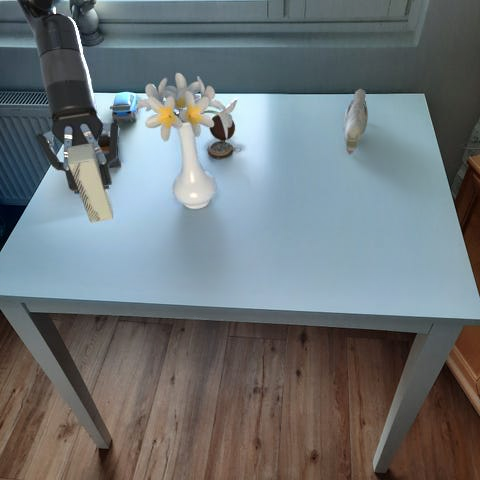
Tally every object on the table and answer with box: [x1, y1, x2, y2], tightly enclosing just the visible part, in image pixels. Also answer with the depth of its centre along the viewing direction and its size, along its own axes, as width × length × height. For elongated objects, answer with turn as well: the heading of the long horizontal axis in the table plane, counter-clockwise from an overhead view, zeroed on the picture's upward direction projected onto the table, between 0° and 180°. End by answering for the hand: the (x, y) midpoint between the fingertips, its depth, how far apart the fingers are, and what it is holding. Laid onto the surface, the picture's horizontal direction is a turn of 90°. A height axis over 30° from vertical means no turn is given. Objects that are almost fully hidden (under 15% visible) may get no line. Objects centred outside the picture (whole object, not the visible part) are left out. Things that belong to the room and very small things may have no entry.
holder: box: [98, 132, 122, 170], centre depth 110 cm, size 8×8×4 cm
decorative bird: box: [342, 88, 369, 155], centre depth 110 cm, size 5×16×8 cm, turn 166°
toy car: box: [109, 91, 140, 124], centre depth 121 cm, size 6×12×6 cm, turn 2°
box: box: [67, 143, 115, 224], centre depth 82 cm, size 5×4×13 cm
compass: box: [206, 114, 242, 160], centre depth 109 cm, size 8×8×7 cm
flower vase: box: [136, 72, 238, 210], centre depth 92 cm, size 13×18×25 cm
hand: (92, 190), depth 81 cm, fingers closed on box, 4 cm apart
